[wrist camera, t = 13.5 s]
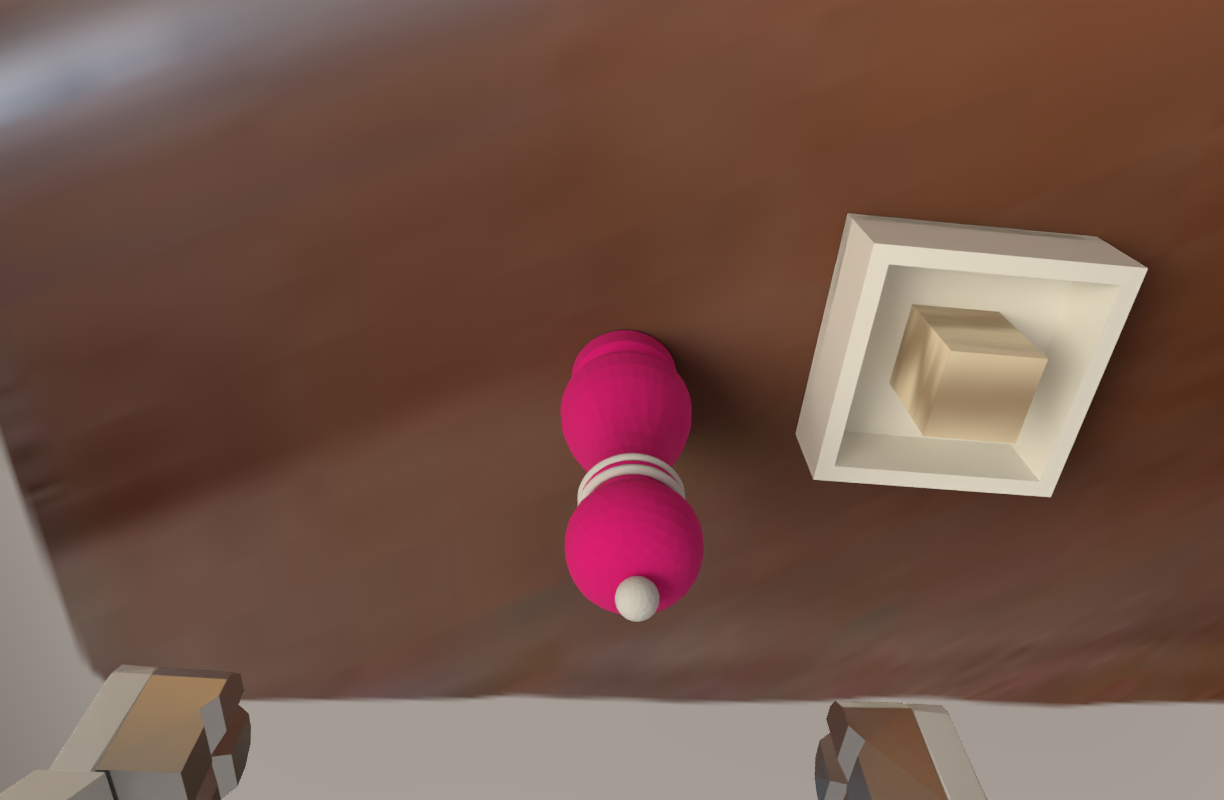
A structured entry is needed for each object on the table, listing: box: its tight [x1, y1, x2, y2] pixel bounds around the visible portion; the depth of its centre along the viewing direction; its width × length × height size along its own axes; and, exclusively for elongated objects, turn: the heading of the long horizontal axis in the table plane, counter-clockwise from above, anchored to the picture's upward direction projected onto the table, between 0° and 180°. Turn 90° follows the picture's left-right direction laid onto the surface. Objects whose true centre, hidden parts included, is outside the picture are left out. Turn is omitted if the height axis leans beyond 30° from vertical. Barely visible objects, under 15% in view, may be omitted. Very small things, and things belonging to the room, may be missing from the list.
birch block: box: [889, 304, 1048, 444], centre depth 46 cm, size 5×5×6 cm
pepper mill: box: [561, 330, 704, 622], centre depth 42 cm, size 7×7×20 cm
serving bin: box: [795, 213, 1148, 497], centre depth 47 cm, size 14×14×5 cm
